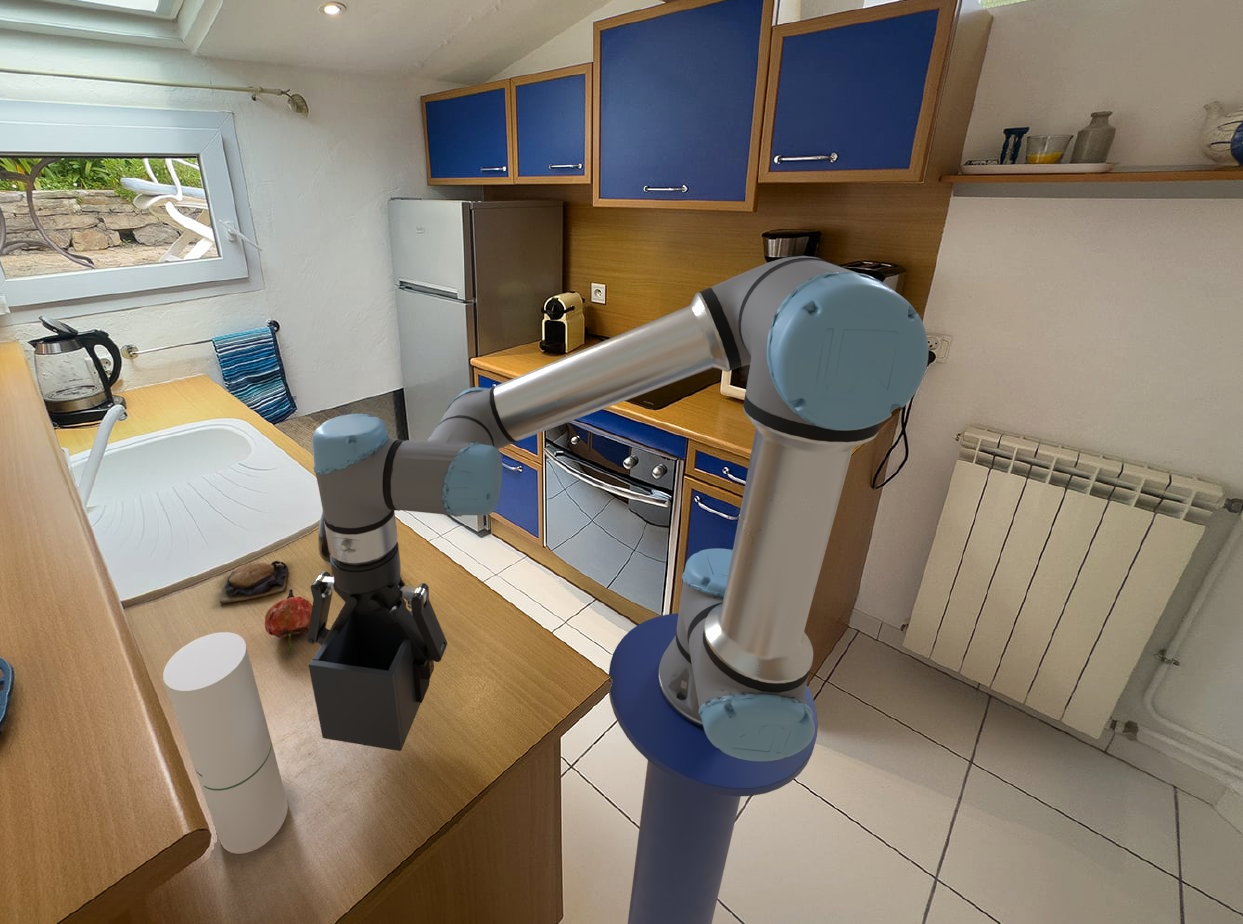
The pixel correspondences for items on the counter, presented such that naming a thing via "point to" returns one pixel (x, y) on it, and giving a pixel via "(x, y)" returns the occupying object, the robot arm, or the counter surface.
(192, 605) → the counter surface
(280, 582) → the bread roll
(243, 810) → the cylindrical container
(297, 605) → the pomegranate
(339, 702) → the dark grey box
